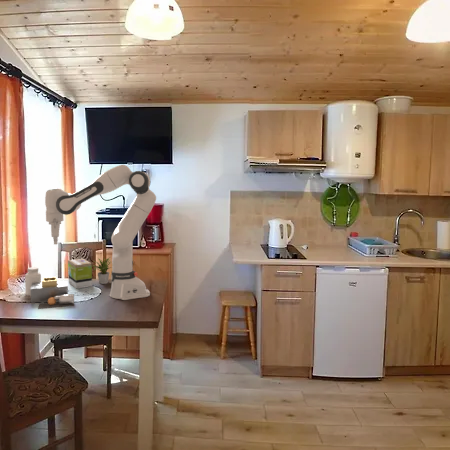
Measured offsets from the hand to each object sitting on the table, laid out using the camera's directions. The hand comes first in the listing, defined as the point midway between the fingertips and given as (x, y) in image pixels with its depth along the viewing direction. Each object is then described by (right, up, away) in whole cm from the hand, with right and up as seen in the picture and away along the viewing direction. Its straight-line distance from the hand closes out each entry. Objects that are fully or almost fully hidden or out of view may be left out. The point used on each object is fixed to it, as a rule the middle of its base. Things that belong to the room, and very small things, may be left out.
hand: (55, 242), depth 222 cm
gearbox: (-2, -30, -3) cm, 31 cm away
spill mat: (+6, -32, -14) cm, 35 cm away
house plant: (+17, -27, +32) cm, 45 cm away
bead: (+4, -32, -14) cm, 35 cm away
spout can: (+10, -32, -13) cm, 35 cm away
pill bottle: (-14, -29, +4) cm, 33 cm away
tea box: (+5, -27, +25) cm, 37 cm away
